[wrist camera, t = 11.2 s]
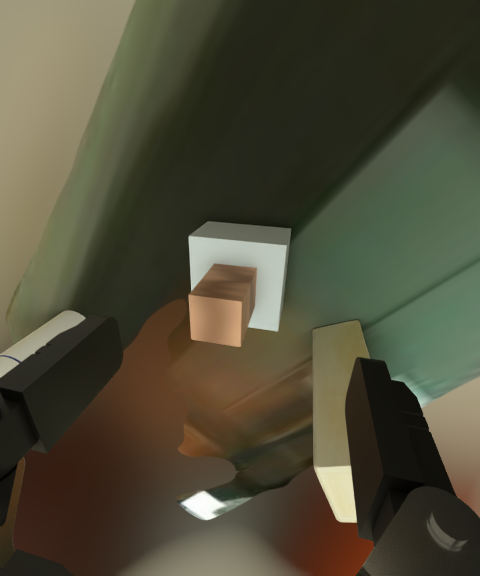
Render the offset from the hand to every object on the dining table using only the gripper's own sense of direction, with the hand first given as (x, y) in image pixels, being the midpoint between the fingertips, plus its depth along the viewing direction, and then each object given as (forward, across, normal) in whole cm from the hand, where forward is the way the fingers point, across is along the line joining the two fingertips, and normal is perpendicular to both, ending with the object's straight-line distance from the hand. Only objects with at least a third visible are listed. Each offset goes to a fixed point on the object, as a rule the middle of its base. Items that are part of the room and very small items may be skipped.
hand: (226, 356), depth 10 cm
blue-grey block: (+30, +5, +9) cm, 32 cm away
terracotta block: (+23, +5, +9) cm, 25 cm away
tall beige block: (+30, -10, +20) cm, 38 cm away
